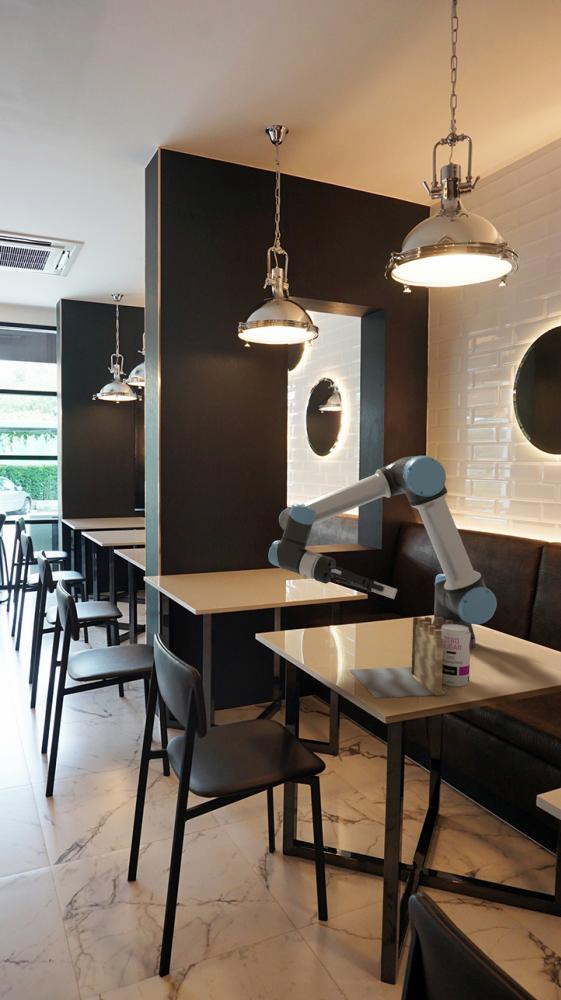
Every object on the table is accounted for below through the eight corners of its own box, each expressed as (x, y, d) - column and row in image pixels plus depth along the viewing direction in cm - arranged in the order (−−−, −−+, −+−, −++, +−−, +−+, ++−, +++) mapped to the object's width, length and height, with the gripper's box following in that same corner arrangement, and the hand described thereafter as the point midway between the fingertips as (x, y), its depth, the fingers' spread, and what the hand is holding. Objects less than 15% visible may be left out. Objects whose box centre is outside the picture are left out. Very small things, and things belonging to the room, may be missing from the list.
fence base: (441, 667, 193) (443, 612, 192) (478, 693, 171) (480, 631, 170) (349, 670, 187) (351, 614, 186) (375, 698, 166) (377, 634, 165)
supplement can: (463, 677, 184) (465, 623, 183) (472, 687, 175) (475, 631, 175) (434, 677, 183) (436, 623, 183) (442, 687, 175) (444, 630, 174)
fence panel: (414, 674, 183) (415, 617, 182) (419, 674, 183) (421, 617, 182) (435, 695, 167) (437, 632, 166) (441, 694, 167) (443, 632, 167)
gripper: (321, 583, 197) (395, 610, 186) (306, 575, 185) (384, 603, 175) (330, 560, 198) (404, 585, 187) (315, 549, 186) (394, 576, 176)
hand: (395, 594), depth 181 cm, fingers closed
